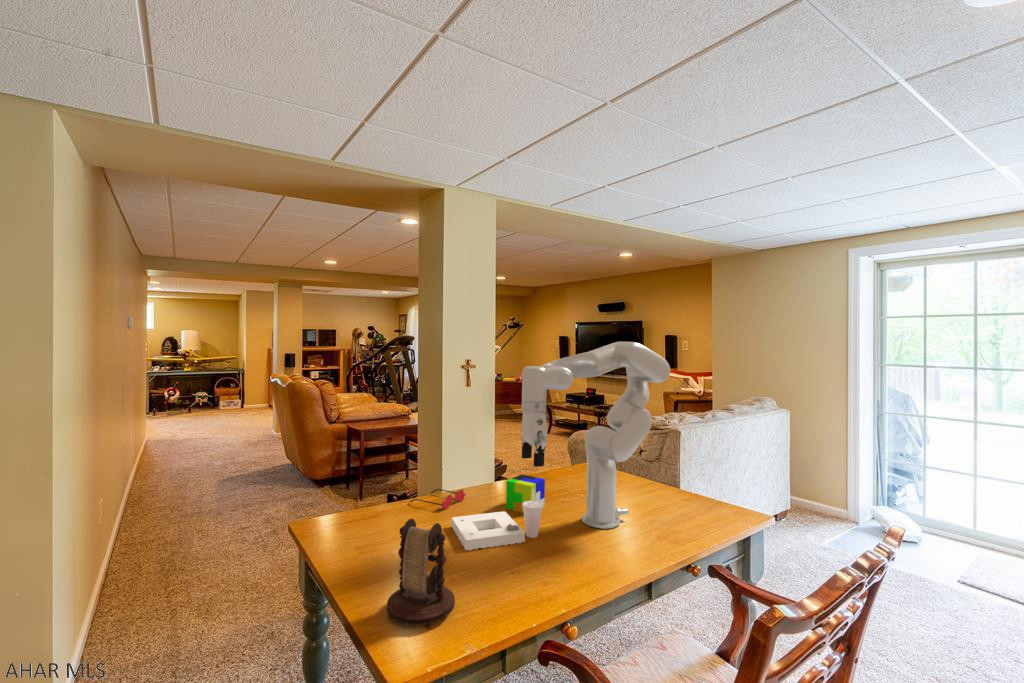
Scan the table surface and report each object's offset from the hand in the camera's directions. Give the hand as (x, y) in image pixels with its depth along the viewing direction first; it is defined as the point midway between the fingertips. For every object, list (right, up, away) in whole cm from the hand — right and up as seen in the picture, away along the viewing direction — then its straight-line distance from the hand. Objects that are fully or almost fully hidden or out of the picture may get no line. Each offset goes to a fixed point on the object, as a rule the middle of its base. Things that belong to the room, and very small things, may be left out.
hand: (532, 462), depth 148 cm
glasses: (-34, -22, +29) cm, 50 cm away
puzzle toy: (-2, -23, +24) cm, 33 cm away
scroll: (-26, -23, -41) cm, 54 cm away
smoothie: (0, -23, 0) cm, 23 cm away
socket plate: (-14, -22, 0) cm, 26 cm away
